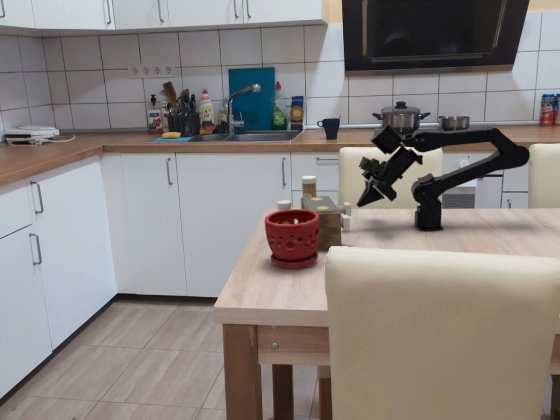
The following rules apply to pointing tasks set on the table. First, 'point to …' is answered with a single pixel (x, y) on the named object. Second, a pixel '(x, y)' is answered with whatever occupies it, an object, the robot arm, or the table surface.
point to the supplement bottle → (284, 208)
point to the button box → (327, 228)
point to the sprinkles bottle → (309, 186)
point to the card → (320, 204)
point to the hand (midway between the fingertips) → (357, 206)
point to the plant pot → (293, 237)
